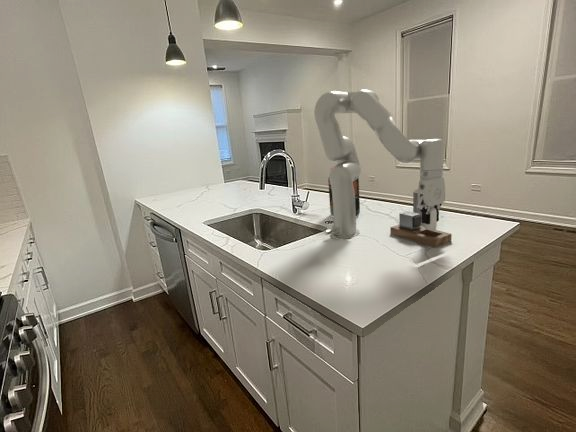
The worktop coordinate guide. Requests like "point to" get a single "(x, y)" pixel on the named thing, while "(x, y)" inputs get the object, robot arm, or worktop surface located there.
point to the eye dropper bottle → (432, 219)
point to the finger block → (409, 221)
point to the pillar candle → (415, 202)
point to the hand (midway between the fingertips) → (430, 221)
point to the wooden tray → (423, 236)
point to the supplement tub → (357, 201)
